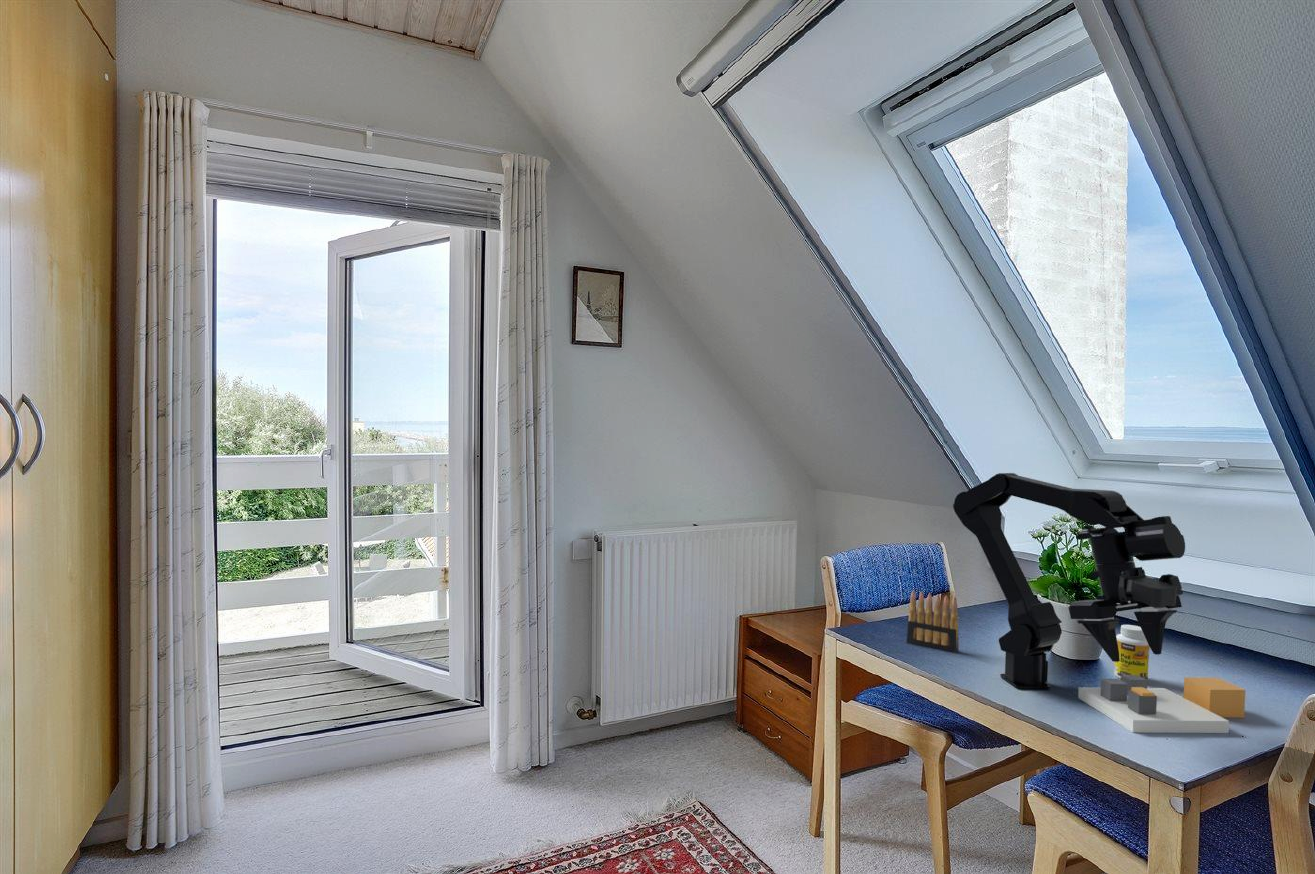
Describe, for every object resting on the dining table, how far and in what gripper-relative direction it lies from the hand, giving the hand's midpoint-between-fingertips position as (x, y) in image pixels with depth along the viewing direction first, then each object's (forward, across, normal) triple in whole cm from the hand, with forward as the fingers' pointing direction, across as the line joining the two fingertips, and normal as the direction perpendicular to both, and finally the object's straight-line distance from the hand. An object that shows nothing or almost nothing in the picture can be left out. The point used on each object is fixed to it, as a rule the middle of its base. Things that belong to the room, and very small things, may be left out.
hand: (1137, 657), depth 117 cm
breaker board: (+10, +6, +5) cm, 13 cm away
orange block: (+12, +18, +4) cm, 22 cm away
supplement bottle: (+8, +19, +19) cm, 28 cm away
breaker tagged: (+9, +1, +2) cm, 9 cm away
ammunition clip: (0, -7, +43) cm, 44 cm away
